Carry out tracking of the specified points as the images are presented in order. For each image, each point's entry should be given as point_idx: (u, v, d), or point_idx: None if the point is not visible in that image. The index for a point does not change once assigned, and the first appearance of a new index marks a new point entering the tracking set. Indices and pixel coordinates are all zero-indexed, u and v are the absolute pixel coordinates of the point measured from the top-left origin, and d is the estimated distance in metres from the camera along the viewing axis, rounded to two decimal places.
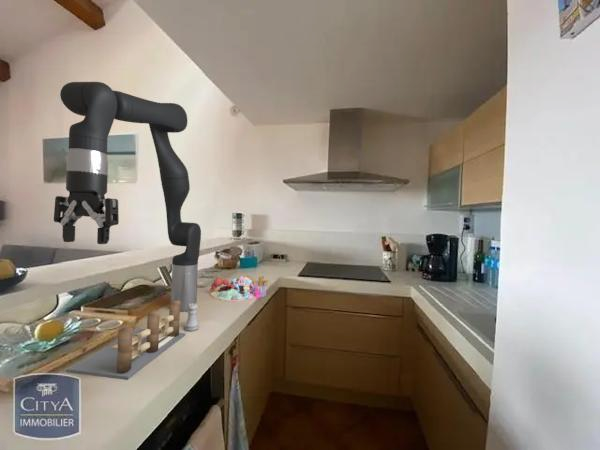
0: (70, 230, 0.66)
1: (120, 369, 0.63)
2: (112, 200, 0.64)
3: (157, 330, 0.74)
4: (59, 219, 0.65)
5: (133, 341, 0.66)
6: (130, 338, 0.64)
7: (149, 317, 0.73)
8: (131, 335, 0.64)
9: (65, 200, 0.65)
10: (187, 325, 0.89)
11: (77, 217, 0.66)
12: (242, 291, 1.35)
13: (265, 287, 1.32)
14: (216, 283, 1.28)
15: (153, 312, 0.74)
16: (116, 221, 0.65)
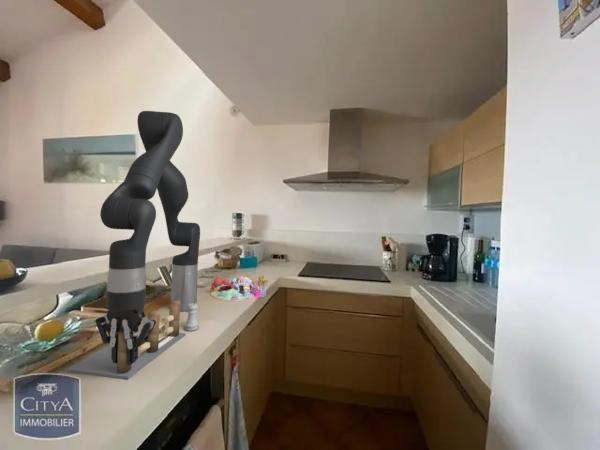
0: None
1: (120, 369, 0.63)
2: (151, 325, 0.63)
3: (157, 330, 0.74)
4: (108, 340, 0.64)
5: None
6: None
7: (149, 317, 0.73)
8: None
9: (105, 319, 0.64)
10: (187, 325, 0.89)
11: None
12: (242, 291, 1.36)
13: None
14: (216, 283, 1.28)
15: (153, 312, 0.74)
16: (145, 340, 0.64)
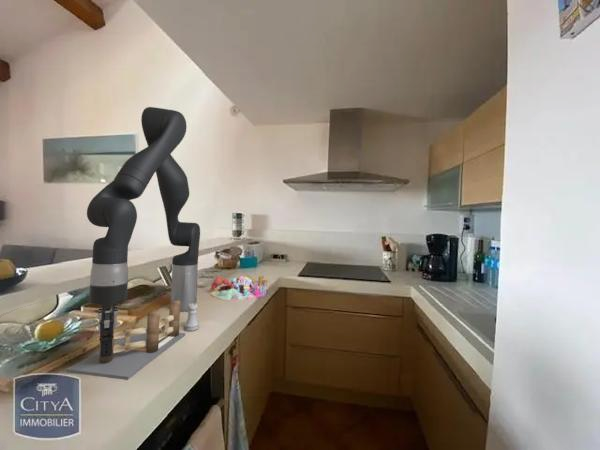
0: None
1: (99, 358, 0.67)
2: (104, 323, 0.62)
3: (157, 330, 0.74)
4: None
5: (117, 335, 0.69)
6: None
7: (149, 317, 0.73)
8: None
9: None
10: (187, 325, 0.89)
11: None
12: (242, 290, 1.36)
13: (265, 286, 1.33)
14: (216, 283, 1.29)
15: (153, 312, 0.74)
16: (109, 337, 0.65)
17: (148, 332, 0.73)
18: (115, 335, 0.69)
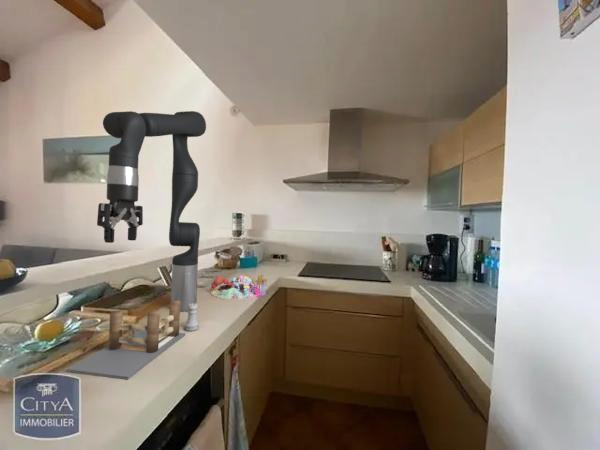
0: (131, 231, 0.84)
1: None
2: (101, 204, 0.74)
3: (157, 330, 0.74)
4: None
5: (122, 327, 0.74)
6: (112, 321, 0.73)
7: (149, 317, 0.73)
8: (113, 319, 0.73)
9: None
10: (187, 325, 0.89)
11: (131, 221, 0.83)
12: (242, 290, 1.38)
13: (264, 286, 1.35)
14: (216, 282, 1.30)
15: (153, 312, 0.74)
16: (103, 223, 0.73)
17: (148, 332, 0.73)
18: (120, 326, 0.74)
